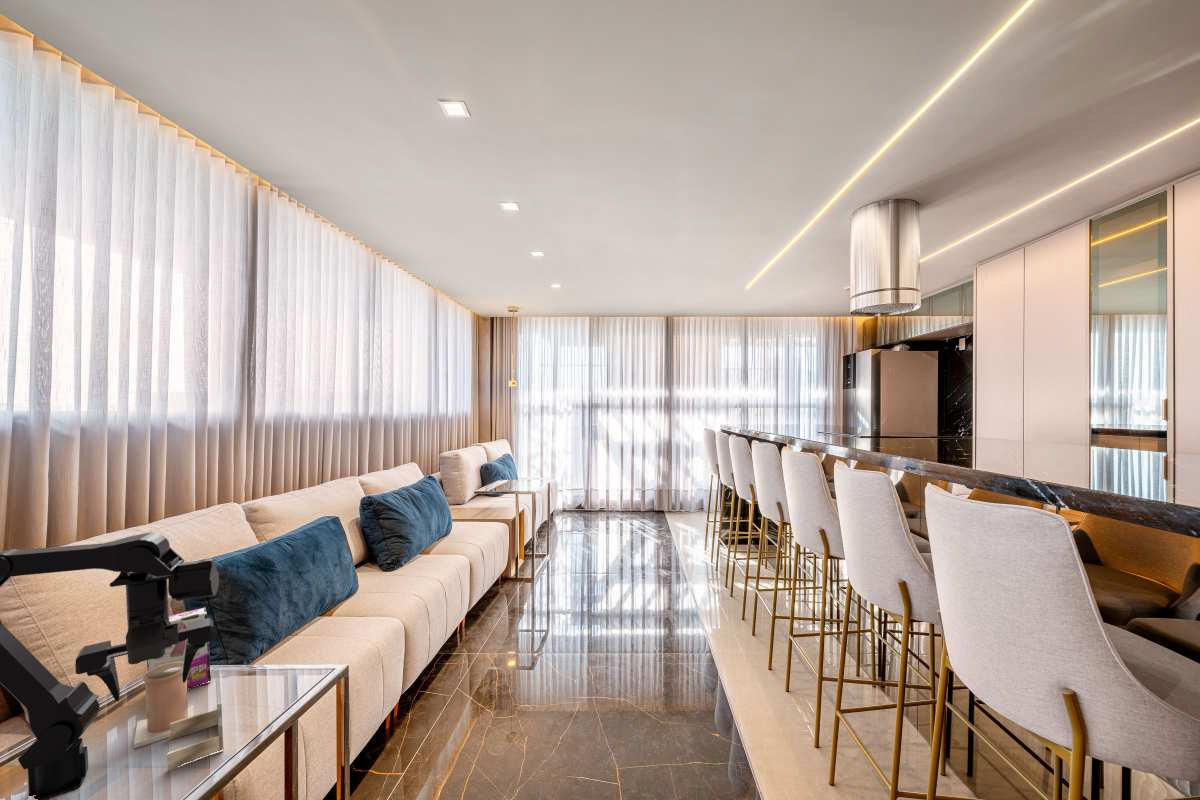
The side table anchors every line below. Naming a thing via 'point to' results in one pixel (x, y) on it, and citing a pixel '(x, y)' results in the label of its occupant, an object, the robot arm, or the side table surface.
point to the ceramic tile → (148, 737)
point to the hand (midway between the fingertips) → (152, 690)
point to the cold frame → (194, 725)
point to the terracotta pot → (165, 696)
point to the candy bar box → (177, 652)
